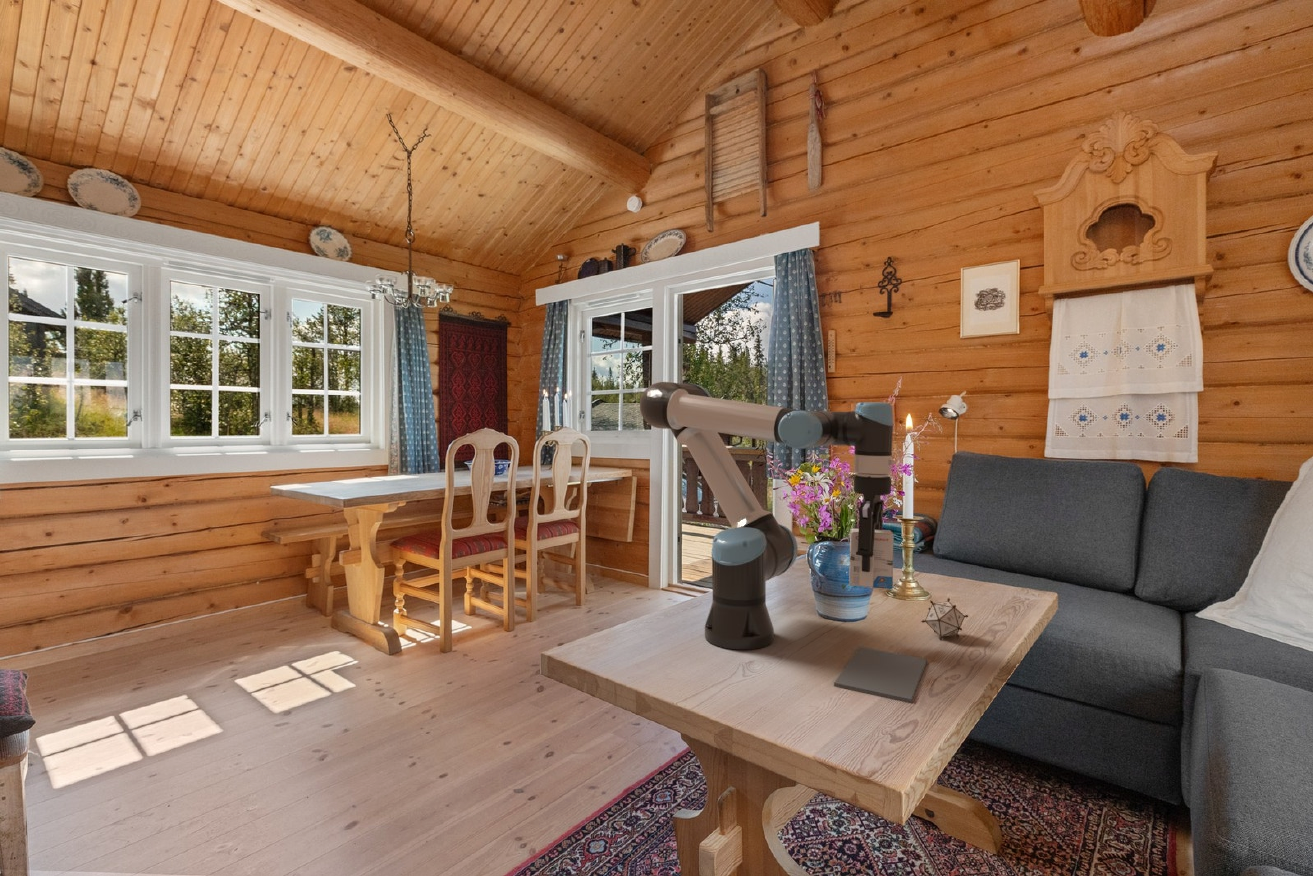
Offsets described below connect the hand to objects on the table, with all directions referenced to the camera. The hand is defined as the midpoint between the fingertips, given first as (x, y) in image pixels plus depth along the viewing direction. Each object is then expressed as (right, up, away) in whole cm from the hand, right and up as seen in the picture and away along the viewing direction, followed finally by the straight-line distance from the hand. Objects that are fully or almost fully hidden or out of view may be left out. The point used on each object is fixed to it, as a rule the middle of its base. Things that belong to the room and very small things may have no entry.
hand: (869, 582), depth 131 cm
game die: (+18, -13, +4) cm, 22 cm away
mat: (-3, -14, -15) cm, 21 cm away
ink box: (0, -1, 0) cm, 1 cm away
